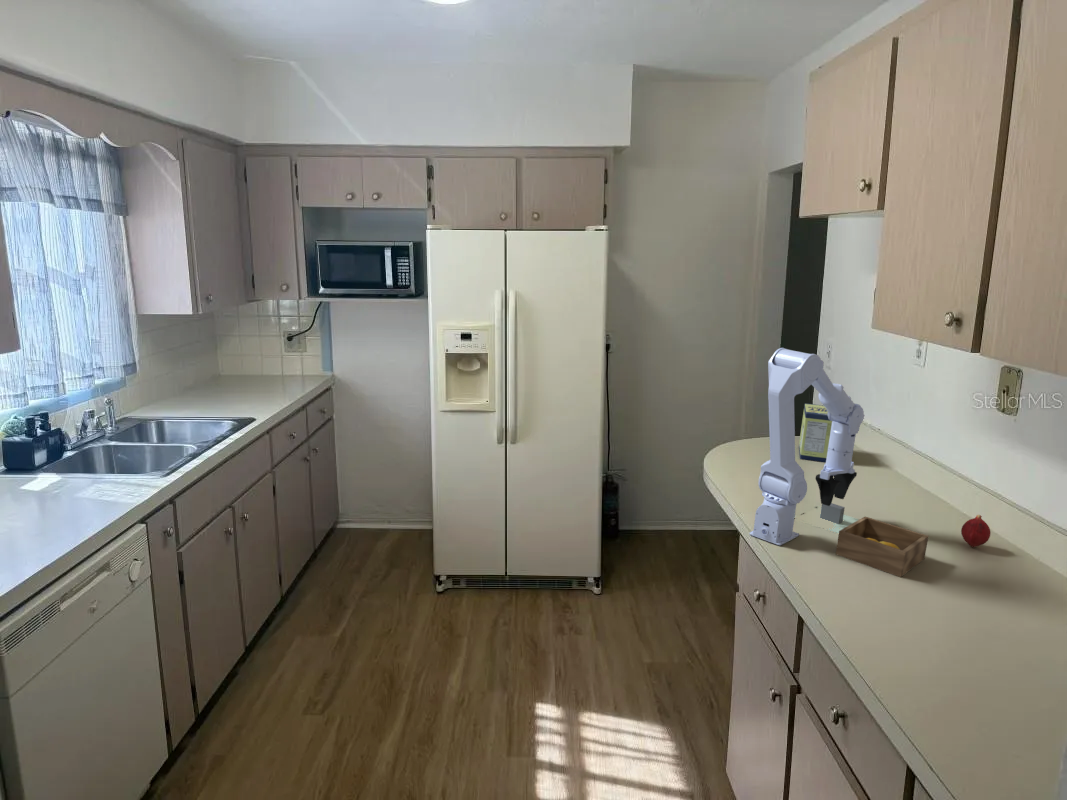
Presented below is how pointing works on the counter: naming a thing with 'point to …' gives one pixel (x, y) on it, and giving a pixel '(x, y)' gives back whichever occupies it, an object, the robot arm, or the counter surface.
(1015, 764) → the counter surface
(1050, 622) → the counter surface
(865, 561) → the box
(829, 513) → the lid
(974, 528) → the onion
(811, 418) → the protein box
